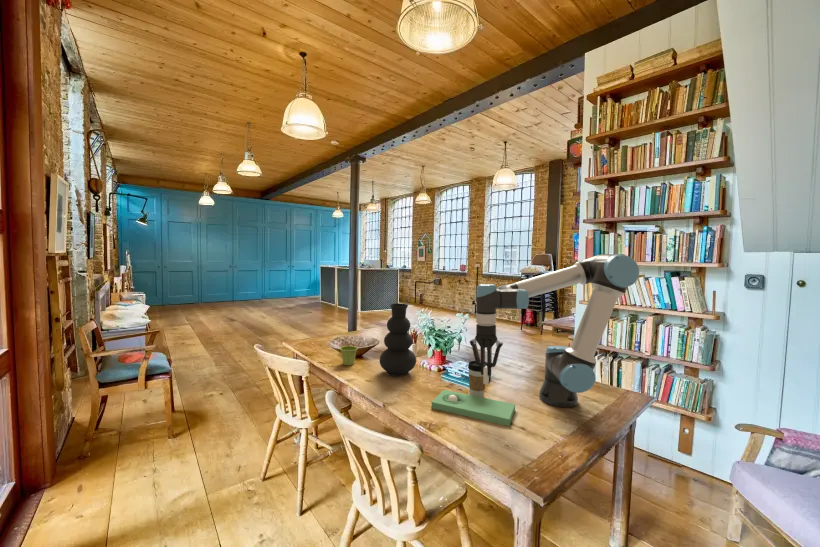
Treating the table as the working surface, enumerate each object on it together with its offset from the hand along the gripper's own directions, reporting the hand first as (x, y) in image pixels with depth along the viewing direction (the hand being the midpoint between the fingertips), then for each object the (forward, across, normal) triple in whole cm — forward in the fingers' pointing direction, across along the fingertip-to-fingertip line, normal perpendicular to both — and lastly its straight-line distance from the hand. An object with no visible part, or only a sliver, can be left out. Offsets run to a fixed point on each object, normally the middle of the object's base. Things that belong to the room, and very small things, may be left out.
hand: (486, 383), depth 137 cm
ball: (+8, +13, +2) cm, 16 cm away
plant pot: (+9, +79, -20) cm, 82 cm away
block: (+11, +5, +2) cm, 12 cm away
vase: (+10, +49, -20) cm, 54 cm away
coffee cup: (+11, +6, -11) cm, 17 cm away
